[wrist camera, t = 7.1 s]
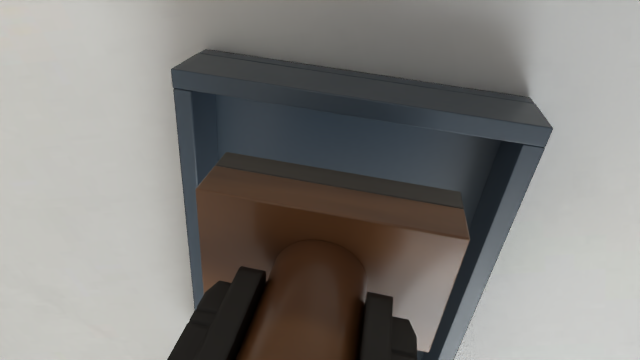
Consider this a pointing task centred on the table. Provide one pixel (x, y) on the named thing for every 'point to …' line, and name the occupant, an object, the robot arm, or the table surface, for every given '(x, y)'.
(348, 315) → the rubber stamp
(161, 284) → the table surface
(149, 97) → the table surface
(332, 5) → the table surface
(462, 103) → the tray
